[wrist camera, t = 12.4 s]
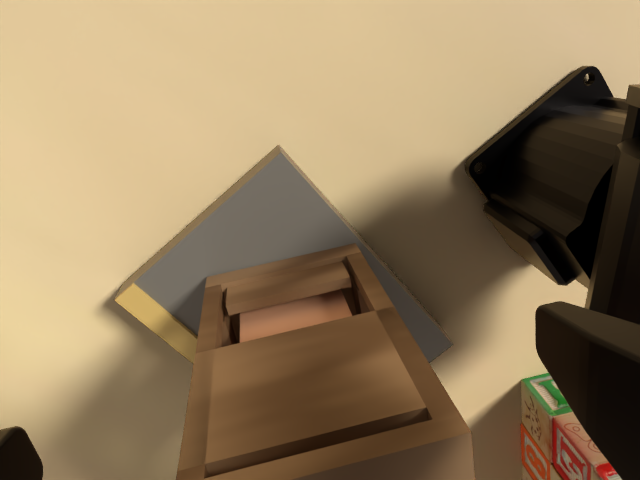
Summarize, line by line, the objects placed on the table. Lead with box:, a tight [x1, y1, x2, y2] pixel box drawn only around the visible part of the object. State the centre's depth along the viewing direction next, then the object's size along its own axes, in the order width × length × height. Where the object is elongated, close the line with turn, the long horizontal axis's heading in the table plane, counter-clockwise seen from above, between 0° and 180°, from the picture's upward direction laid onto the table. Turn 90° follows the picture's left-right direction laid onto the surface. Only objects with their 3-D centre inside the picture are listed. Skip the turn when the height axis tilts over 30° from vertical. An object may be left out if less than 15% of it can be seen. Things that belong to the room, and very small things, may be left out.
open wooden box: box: [176, 243, 475, 480], centre depth 16 cm, size 6×6×11 cm
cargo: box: [240, 289, 352, 343], centre depth 18 cm, size 4×4×4 cm
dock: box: [114, 145, 453, 364], centre depth 22 cm, size 9×12×2 cm
